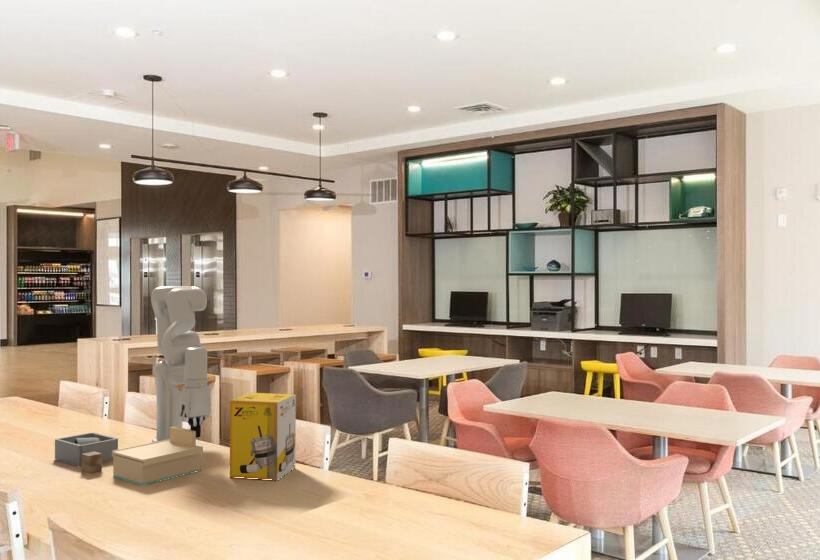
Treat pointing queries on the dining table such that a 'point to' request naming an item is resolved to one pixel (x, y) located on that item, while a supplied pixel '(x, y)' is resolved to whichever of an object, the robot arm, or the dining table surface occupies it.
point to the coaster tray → (84, 448)
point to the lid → (164, 448)
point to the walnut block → (91, 462)
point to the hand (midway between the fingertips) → (195, 436)
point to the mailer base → (154, 469)
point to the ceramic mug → (86, 440)
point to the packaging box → (262, 435)
